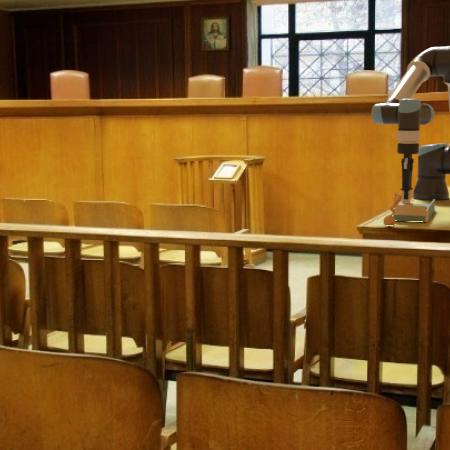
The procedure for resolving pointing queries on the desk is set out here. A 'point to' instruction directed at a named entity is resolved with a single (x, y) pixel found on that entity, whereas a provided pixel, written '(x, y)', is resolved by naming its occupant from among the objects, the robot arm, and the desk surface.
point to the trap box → (414, 212)
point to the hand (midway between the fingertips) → (406, 207)
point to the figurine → (390, 219)
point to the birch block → (405, 204)
